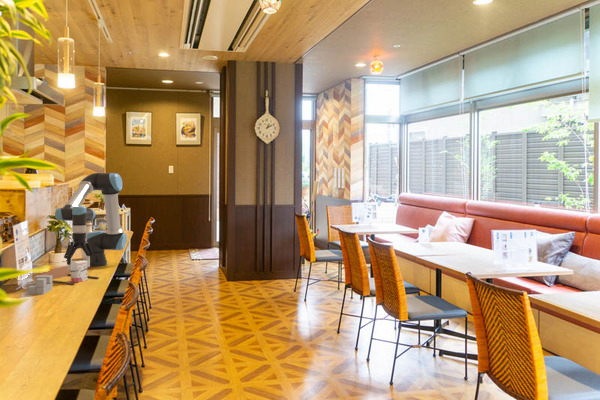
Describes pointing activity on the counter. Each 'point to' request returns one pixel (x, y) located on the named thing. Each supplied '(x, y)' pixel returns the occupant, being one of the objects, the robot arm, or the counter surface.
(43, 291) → the puzzle cube
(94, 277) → the guide rails
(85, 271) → the ink box
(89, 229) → the water bottle
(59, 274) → the end stop
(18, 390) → the counter surface
